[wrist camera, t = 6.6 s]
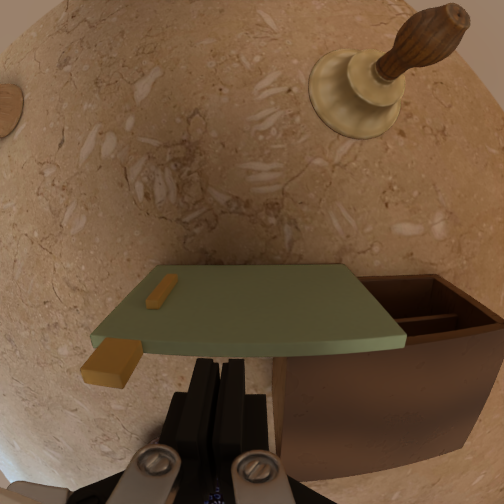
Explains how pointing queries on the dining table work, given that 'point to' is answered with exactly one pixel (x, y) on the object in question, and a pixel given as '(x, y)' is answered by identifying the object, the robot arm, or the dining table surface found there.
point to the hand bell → (381, 73)
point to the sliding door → (239, 317)
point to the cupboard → (390, 386)
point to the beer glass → (9, 107)
